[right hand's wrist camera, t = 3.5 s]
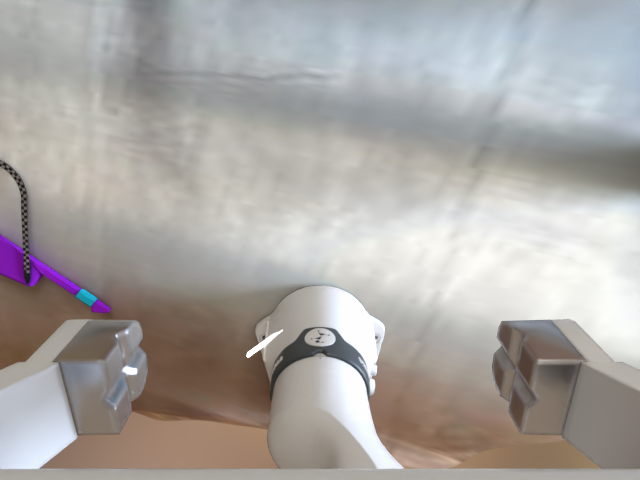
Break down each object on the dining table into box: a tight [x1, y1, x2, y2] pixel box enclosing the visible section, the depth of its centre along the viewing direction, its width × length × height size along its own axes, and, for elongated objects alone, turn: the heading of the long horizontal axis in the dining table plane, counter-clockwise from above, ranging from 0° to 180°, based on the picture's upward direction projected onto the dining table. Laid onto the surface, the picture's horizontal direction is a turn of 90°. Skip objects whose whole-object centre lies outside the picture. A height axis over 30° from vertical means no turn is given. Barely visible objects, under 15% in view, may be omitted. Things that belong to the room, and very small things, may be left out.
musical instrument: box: [0, 160, 111, 313], centre depth 60 cm, size 24×2×20 cm
